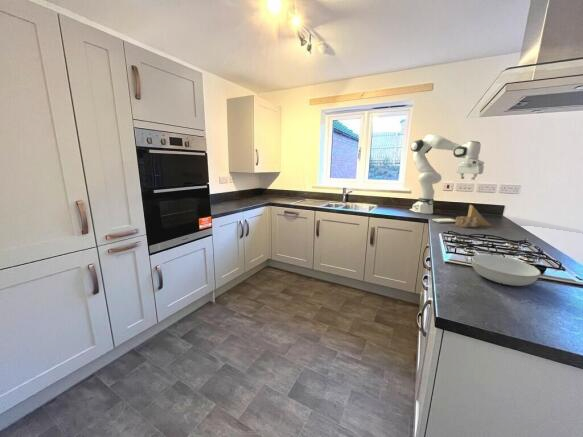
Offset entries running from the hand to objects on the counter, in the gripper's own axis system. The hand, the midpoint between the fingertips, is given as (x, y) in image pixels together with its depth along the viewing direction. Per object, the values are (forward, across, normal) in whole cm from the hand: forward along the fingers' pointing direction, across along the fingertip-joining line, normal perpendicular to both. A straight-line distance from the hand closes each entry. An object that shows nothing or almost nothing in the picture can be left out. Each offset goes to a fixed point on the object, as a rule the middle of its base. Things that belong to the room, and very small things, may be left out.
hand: (467, 179), depth 195 cm
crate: (+35, +16, -11) cm, 40 cm away
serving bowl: (+36, +92, -81) cm, 128 cm away
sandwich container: (+36, +12, +6) cm, 38 cm away
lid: (+34, +2, -18) cm, 39 cm away
